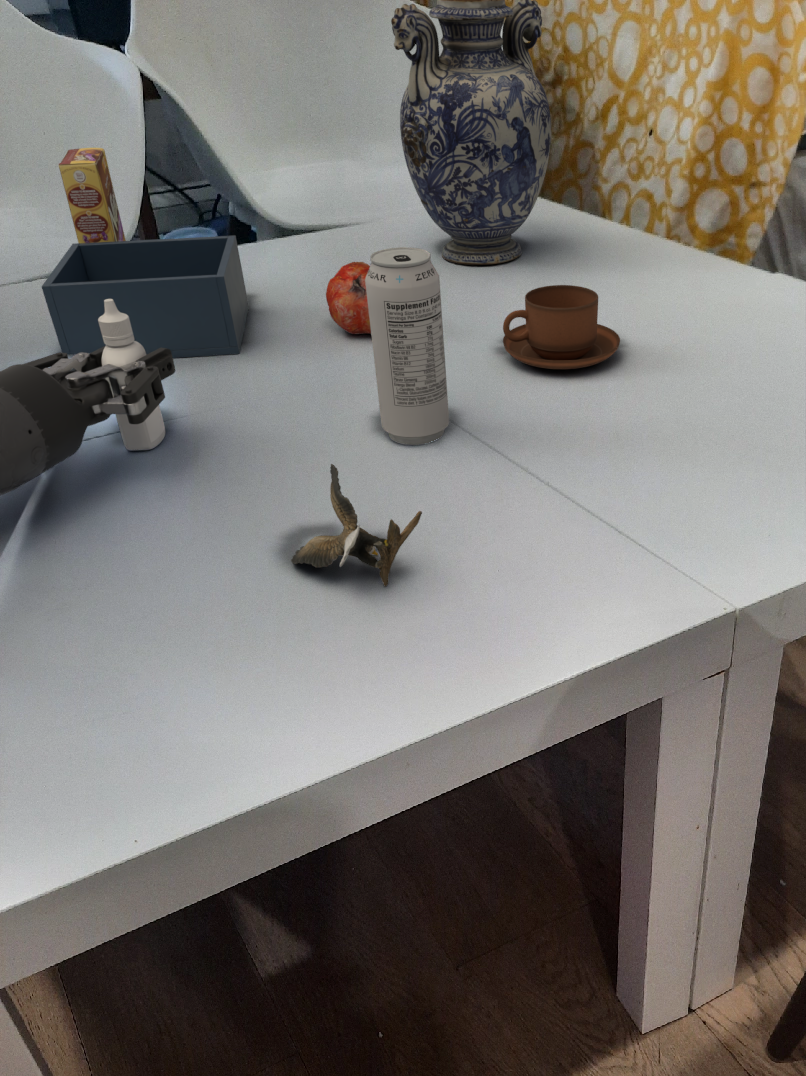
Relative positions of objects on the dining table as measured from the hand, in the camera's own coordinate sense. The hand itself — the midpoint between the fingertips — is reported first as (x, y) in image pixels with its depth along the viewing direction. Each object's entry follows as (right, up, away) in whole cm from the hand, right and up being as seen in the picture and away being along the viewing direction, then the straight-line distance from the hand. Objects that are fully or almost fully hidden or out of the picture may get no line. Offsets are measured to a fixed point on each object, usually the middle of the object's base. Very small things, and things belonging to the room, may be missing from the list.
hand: (146, 356), depth 88 cm
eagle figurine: (+21, -21, -15) cm, 33 cm away
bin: (-7, +11, +23) cm, 27 cm away
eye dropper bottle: (-1, -7, +2) cm, 7 cm away
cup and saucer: (+37, +6, +17) cm, 41 cm away
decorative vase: (+27, +30, +46) cm, 61 cm away
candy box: (-16, +19, +33) cm, 42 cm away
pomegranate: (+15, +11, +24) cm, 30 cm away
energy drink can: (+23, -6, +3) cm, 24 cm away
